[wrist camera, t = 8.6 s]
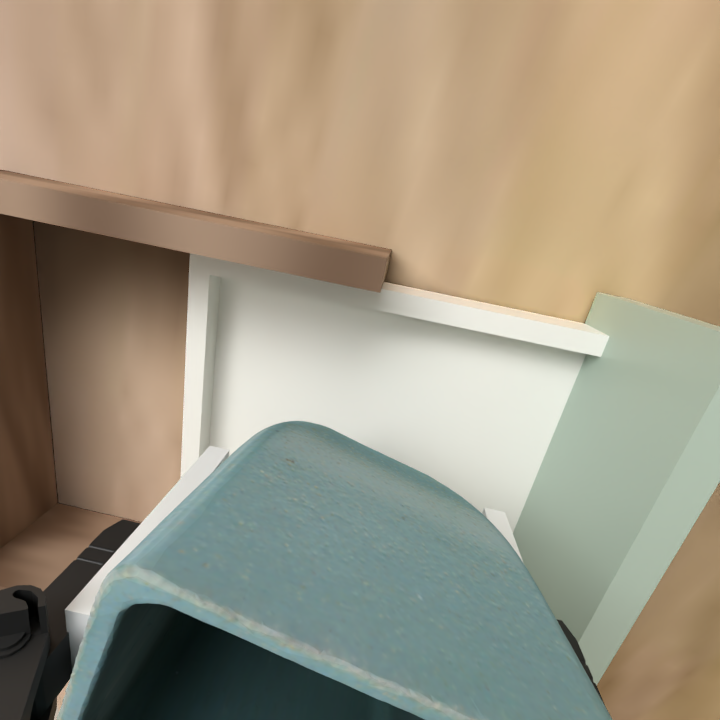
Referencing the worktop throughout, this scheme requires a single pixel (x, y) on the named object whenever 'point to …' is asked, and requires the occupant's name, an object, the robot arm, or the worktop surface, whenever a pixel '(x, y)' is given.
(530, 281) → the worktop surface
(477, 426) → the pull-out tray
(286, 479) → the flower pot
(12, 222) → the organiser box
